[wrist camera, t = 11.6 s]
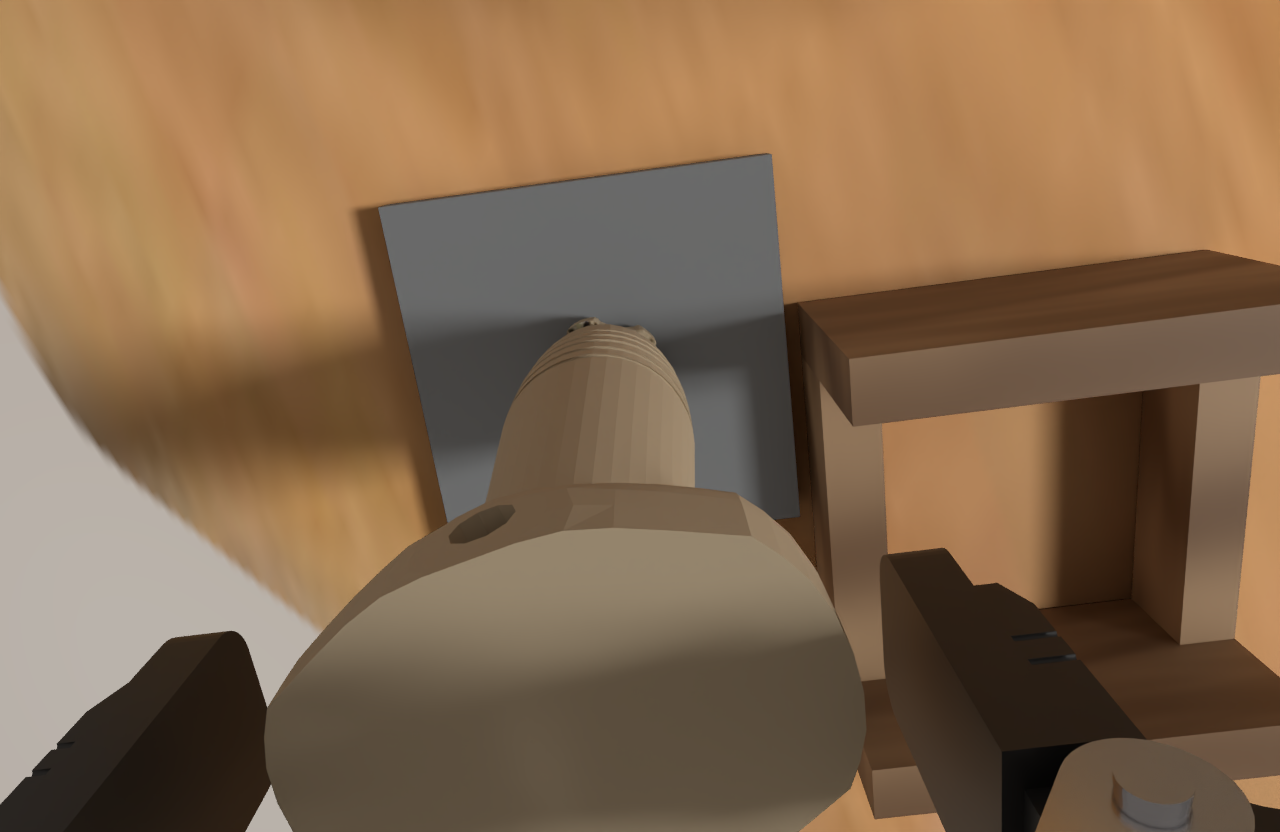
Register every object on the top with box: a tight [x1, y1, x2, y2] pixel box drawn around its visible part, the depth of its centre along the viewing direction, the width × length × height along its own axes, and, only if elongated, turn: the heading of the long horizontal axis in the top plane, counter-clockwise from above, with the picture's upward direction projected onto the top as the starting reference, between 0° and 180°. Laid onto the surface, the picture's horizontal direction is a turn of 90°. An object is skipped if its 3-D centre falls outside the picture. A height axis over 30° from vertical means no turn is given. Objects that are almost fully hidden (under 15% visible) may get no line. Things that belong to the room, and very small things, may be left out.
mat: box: [378, 153, 800, 523], centre depth 24 cm, size 10×10×1 cm
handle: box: [264, 317, 867, 832], centre depth 16 cm, size 5×6×15 cm
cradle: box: [798, 250, 1280, 819], centre depth 23 cm, size 12×11×6 cm
